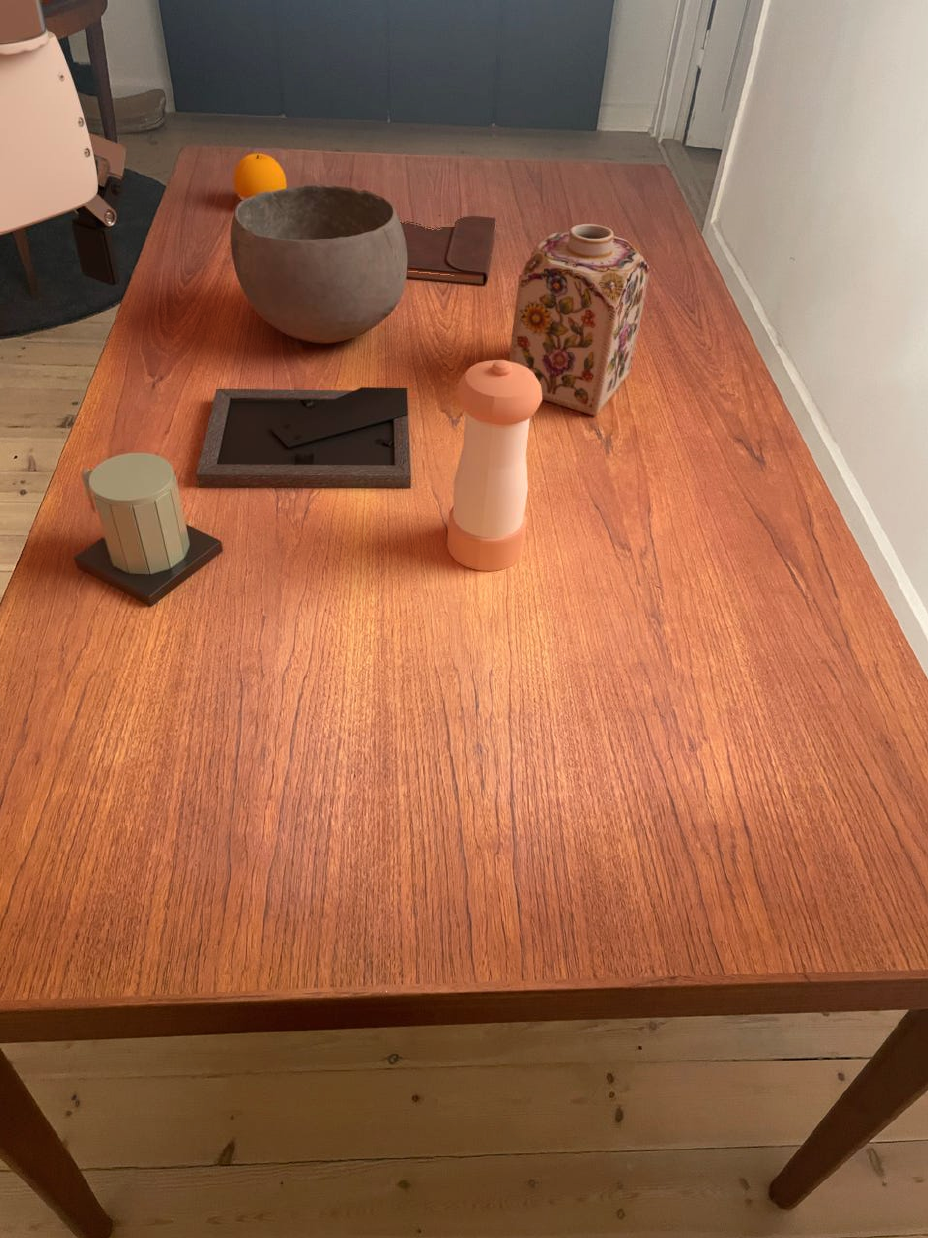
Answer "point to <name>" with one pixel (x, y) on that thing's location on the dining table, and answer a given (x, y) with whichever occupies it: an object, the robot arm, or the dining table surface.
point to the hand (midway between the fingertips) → (47, 302)
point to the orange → (258, 175)
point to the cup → (138, 512)
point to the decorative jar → (579, 315)
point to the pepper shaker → (492, 465)
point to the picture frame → (307, 439)
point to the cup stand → (149, 585)
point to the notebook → (451, 251)
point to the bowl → (319, 260)
